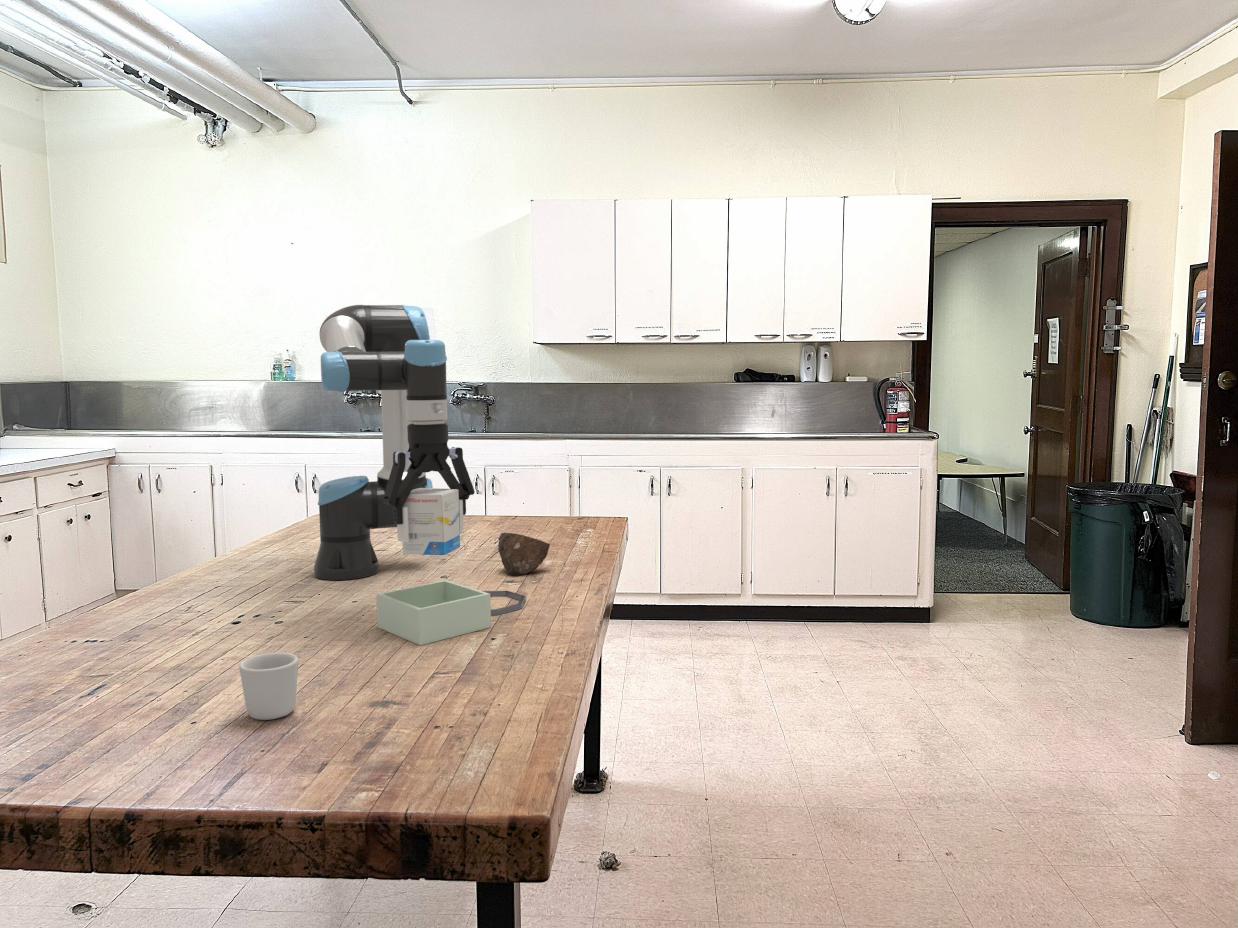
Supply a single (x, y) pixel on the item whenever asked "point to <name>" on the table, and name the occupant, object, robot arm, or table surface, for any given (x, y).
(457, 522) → the ink box
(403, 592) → the bin
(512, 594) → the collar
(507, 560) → the rock
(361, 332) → the robot arm
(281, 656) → the cup
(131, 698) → the table surface
